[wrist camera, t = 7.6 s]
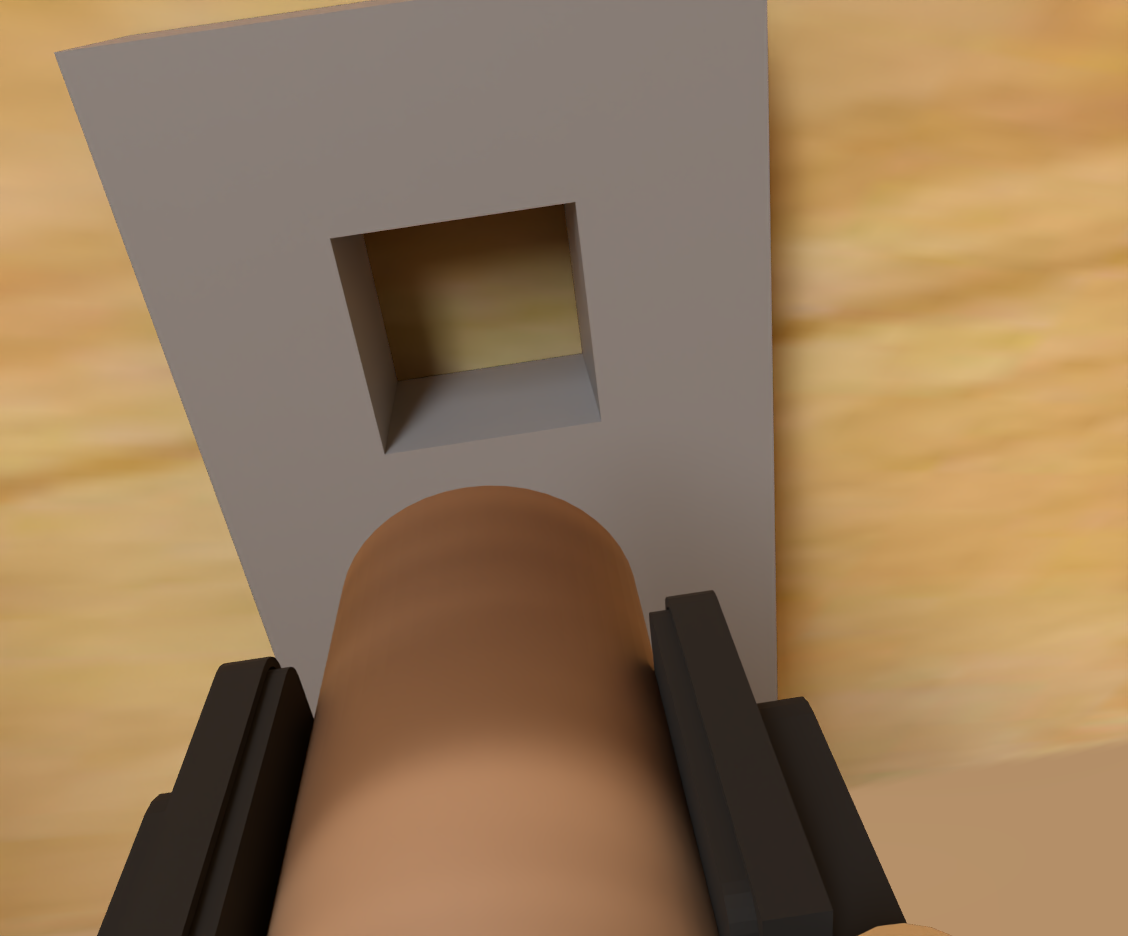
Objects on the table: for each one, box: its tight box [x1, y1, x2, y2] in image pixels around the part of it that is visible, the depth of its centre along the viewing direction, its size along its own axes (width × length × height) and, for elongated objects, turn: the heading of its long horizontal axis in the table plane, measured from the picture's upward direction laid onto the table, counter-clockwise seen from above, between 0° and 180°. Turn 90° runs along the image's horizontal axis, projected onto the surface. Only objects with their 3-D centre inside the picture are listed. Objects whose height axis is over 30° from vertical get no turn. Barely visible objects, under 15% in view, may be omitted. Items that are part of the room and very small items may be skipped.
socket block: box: [54, 0, 777, 718], centre depth 25 cm, size 20×14×4 cm
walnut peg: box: [266, 486, 719, 936], centre depth 9 cm, size 4×4×9 cm
